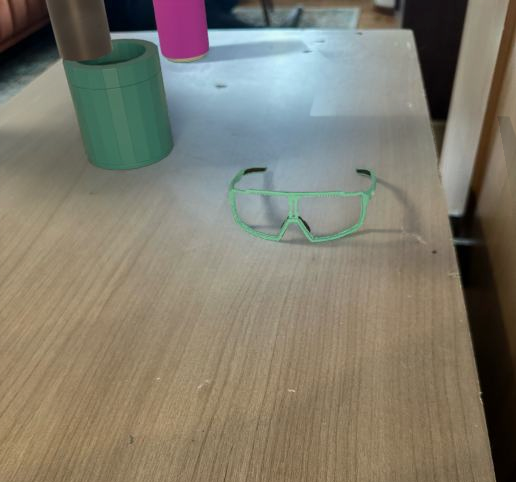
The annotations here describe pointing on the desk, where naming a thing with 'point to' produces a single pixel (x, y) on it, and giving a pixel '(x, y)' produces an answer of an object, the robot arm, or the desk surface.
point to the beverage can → (182, 29)
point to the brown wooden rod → (80, 29)
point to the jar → (122, 105)
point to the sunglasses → (295, 196)
